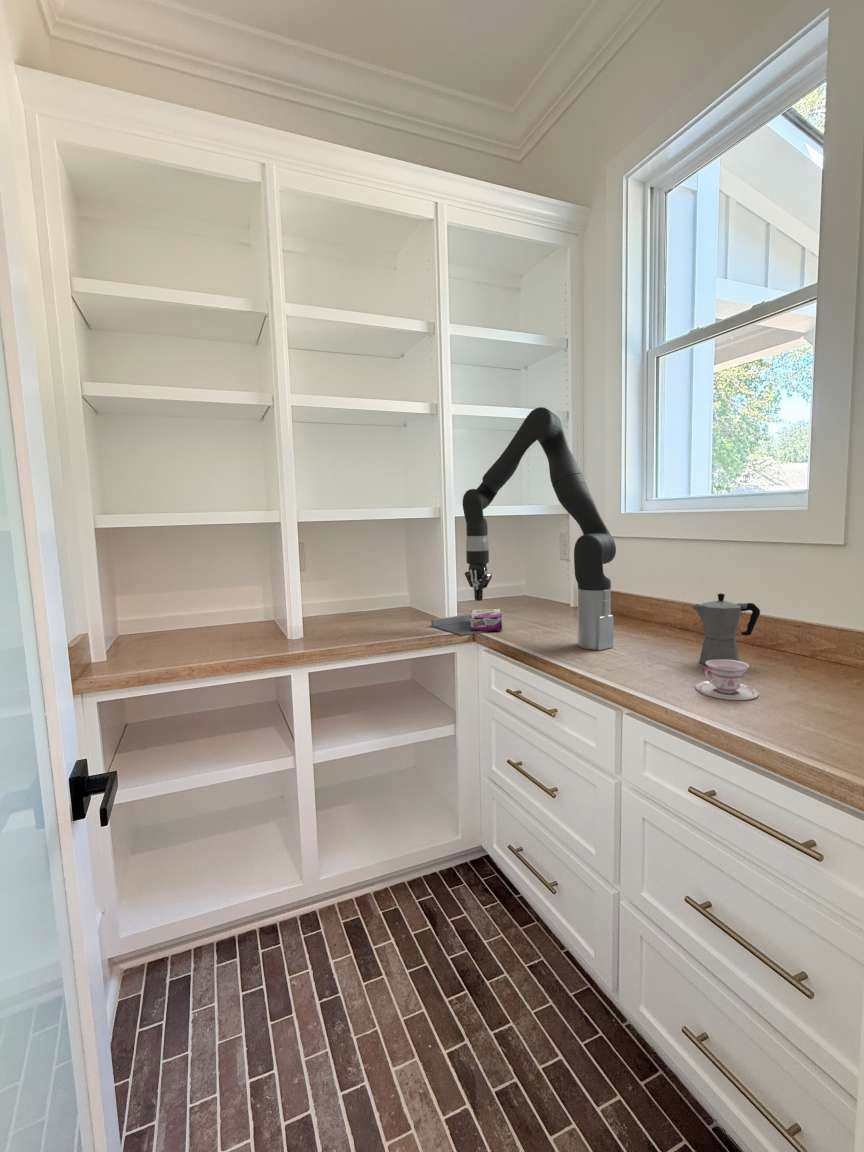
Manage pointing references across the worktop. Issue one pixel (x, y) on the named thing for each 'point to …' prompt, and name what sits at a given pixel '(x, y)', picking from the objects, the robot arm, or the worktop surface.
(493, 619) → the candy bar box
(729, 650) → the coffeepot
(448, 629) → the mat
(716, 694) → the teacup
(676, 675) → the worktop surface
